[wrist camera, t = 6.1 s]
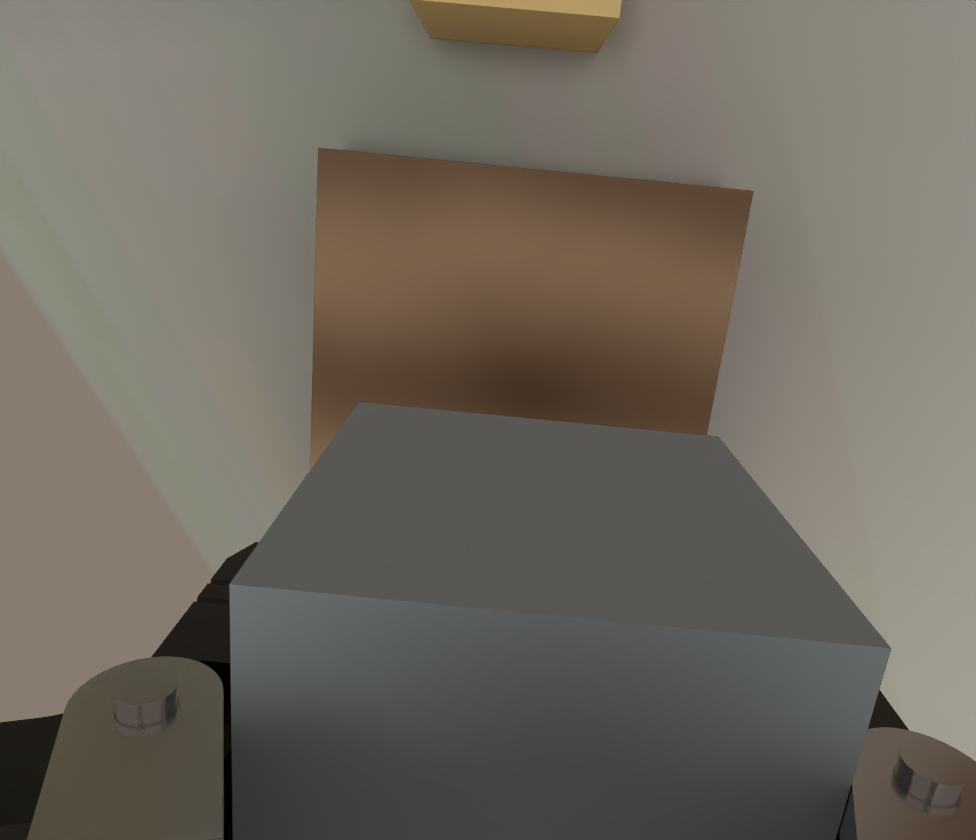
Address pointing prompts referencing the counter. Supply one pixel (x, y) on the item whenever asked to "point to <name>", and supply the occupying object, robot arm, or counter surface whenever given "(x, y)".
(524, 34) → the ochre block
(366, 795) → the slate block
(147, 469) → the counter surface
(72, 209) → the counter surface
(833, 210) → the counter surface
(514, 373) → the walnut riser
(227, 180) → the counter surface
